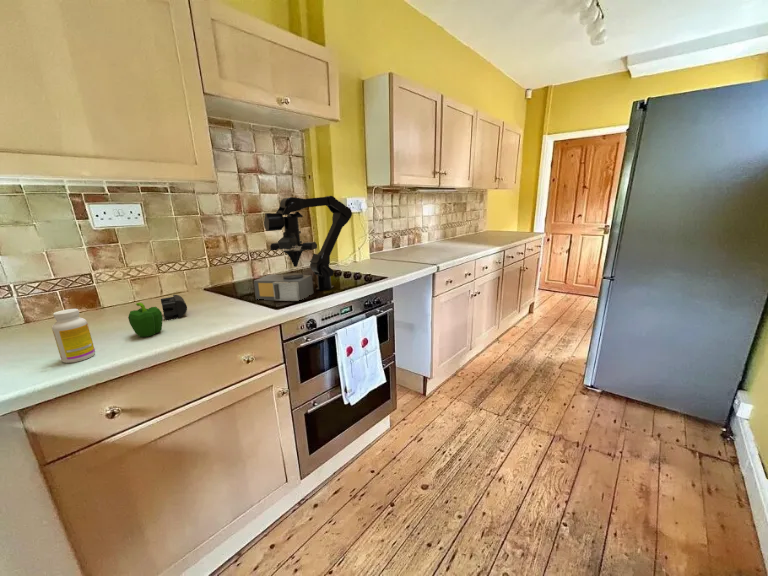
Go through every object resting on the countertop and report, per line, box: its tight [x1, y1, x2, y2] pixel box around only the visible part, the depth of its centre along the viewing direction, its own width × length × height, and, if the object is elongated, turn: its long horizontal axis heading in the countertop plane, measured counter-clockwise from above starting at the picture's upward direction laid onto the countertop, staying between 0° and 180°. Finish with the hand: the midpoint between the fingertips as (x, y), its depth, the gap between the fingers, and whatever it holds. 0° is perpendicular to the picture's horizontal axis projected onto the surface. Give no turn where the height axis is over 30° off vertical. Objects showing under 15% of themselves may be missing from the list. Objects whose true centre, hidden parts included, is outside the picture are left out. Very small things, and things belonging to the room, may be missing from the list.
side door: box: [273, 282, 300, 302], centre depth 130 cm, size 3×10×7 cm, turn 77°
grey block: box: [253, 272, 315, 301], centre depth 138 cm, size 12×20×9 cm, turn 77°
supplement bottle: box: [51, 308, 96, 364], centre depth 85 cm, size 7×7×13 cm
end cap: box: [160, 294, 188, 321], centre depth 118 cm, size 10×7×7 cm
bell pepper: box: [127, 302, 164, 338], centre depth 100 cm, size 8×8×10 cm
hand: (295, 266), depth 139 cm, fingers closed
